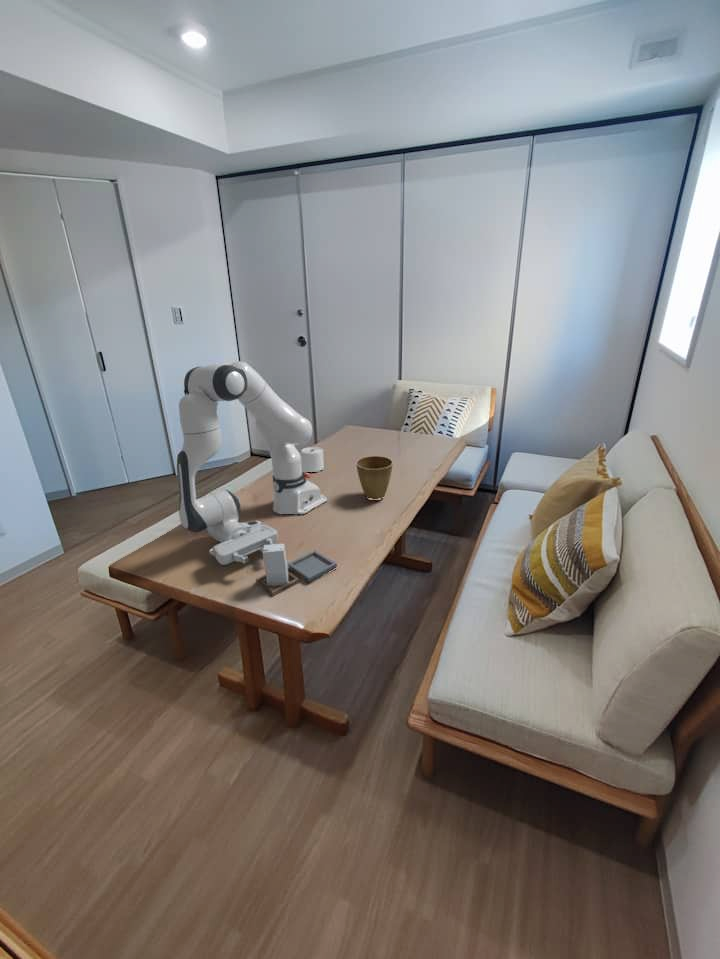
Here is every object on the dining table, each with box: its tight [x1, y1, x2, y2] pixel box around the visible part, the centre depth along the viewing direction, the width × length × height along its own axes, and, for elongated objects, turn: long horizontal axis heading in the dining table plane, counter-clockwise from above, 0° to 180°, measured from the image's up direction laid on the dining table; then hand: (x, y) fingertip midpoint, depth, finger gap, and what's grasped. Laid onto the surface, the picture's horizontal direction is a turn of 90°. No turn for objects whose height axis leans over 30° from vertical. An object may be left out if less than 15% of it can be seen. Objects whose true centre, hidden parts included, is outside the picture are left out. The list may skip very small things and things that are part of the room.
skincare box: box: [261, 543, 289, 587], centre depth 123 cm, size 6×4×12 cm
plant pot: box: [355, 455, 393, 499], centre depth 175 cm, size 15×15×16 cm
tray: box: [287, 550, 338, 585], centre depth 131 cm, size 11×11×2 cm
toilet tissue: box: [300, 446, 325, 472], centre depth 206 cm, size 11×12×10 cm
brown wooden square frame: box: [255, 570, 300, 597], centre depth 125 cm, size 9×9×1 cm
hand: (260, 554), depth 128 cm, fingers open, 8 cm apart
